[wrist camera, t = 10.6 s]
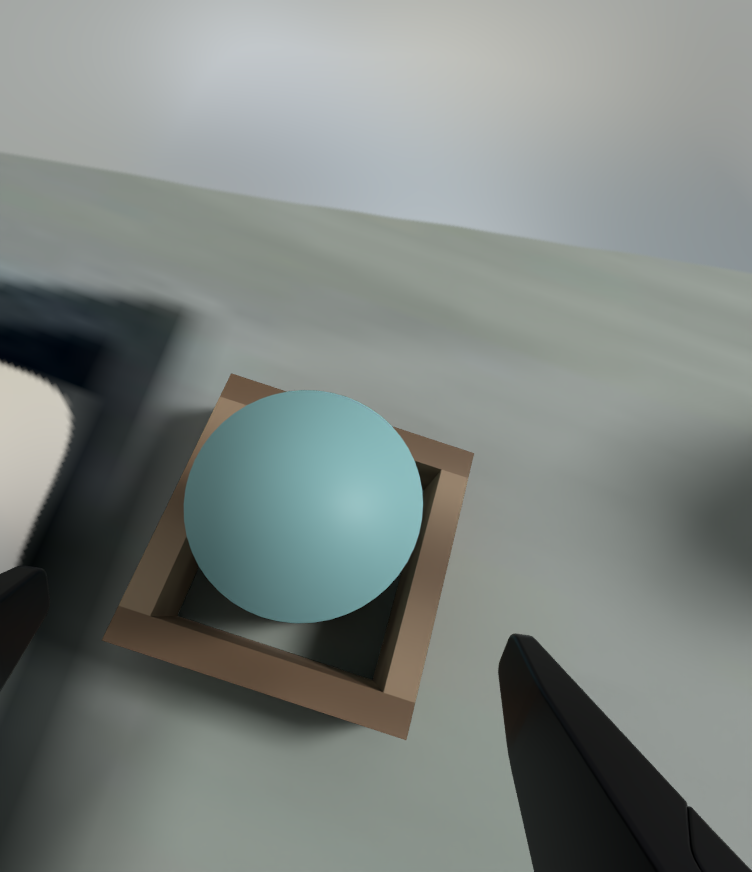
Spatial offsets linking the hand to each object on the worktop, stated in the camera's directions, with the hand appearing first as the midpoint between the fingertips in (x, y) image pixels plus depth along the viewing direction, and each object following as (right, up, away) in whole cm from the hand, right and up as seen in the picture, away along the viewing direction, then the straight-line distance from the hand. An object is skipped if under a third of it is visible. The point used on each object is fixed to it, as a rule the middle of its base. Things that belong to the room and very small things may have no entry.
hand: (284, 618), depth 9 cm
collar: (-1, -1, +9) cm, 9 cm away
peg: (-1, -1, +9) cm, 9 cm away
